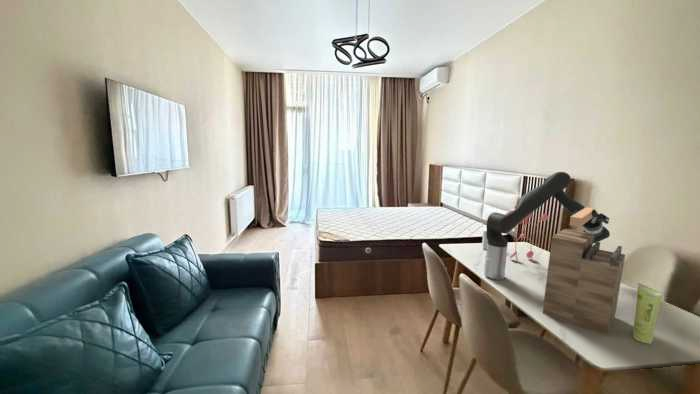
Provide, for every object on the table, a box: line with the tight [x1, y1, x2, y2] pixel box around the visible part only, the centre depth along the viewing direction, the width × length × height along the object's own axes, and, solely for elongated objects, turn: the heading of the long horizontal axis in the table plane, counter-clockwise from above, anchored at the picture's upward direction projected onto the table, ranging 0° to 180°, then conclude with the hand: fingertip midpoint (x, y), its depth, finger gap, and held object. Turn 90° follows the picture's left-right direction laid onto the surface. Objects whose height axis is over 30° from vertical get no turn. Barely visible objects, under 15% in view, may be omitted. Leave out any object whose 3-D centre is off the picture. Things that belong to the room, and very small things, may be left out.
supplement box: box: [481, 227, 488, 250], centre depth 197 cm, size 7×7×13 cm
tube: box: [632, 282, 664, 344], centre depth 104 cm, size 6×5×20 cm
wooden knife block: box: [542, 228, 626, 336], centre depth 117 cm, size 18×20×32 cm
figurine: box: [504, 205, 549, 263], centre depth 178 cm, size 15×26×35 cm, turn 94°
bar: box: [569, 207, 597, 228], centre depth 126 cm, size 26×4×4 cm, turn 132°
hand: (587, 210), depth 130 cm, fingers closed on bar, 3 cm apart
